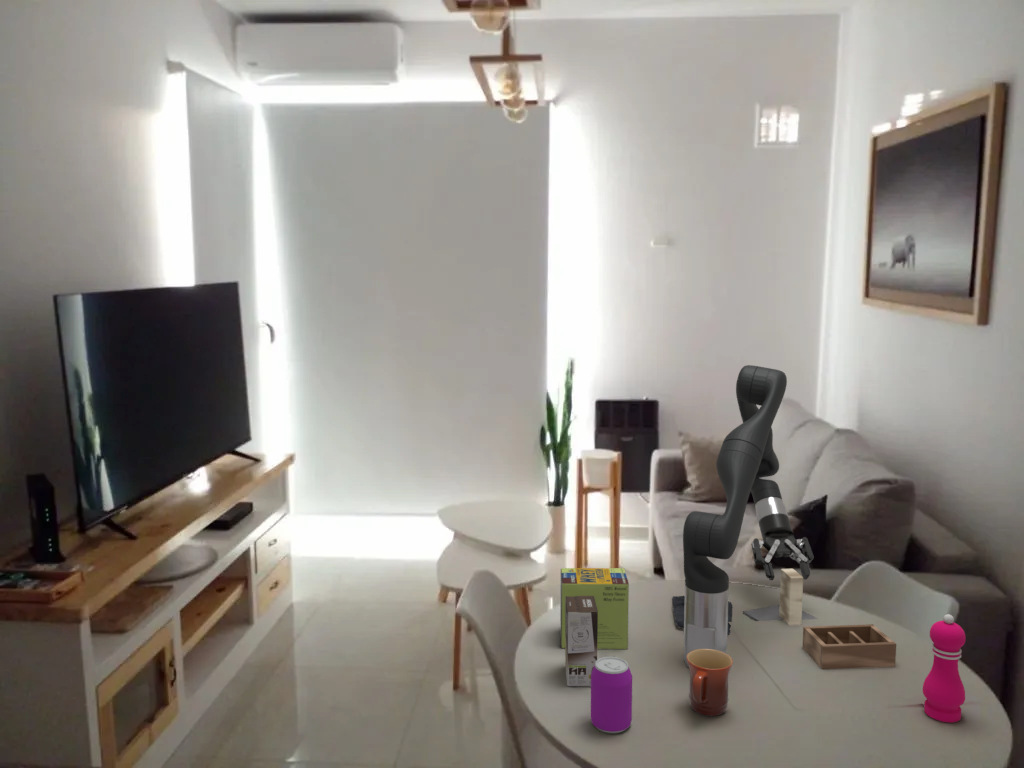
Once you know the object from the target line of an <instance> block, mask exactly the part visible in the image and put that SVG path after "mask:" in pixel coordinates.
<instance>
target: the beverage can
mask: <svg viewBox="0 0 1024 768" xmlns="http://www.w3.org/2000/svg"><path fill="white" fill-rule="evenodd" d="M632 717H633V675H632V671H631V669H630V666H629V663H628V662H627V661H626V660H625V659H623V658H621V657H616V656H603V657H600V658H597V661H596V662H595V665H594V668H593V670H592V673H591V686H590V722H591V724H592V725H593V726H594V727H595V728H596V729H597V730H598V731H601V732H603V733H605V734H619V733H622V732H624V731H626V730H627V729H629V727H631V724H632V719H633V718H632Z"/></svg>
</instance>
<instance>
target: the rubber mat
mask: <svg viewBox="0 0 1024 768" xmlns="http://www.w3.org/2000/svg"><path fill="white" fill-rule="evenodd" d="M779 608H780V603H779V604H775V605H774V604H773V605H769V606H764V607H759V608H758V607H757V608H752V609H748V610H743V611H742V614H743V615H745V616H746V617H748V618H749V619H751V620H753V621H755V622H765V621H766V622H767V621H768V622H770V621H771V622H772V621H784V620H783V619H782V618H781V617H780V616H779ZM802 620H803V621H804V620H819V618H817V617H815V616H813V615H812V614H810V613H808V612H806V611H805V610H802V619H801V621H802Z"/></svg>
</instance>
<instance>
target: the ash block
mask: <svg viewBox="0 0 1024 768" xmlns="http://www.w3.org/2000/svg"><path fill="white" fill-rule="evenodd" d="M779 588H780V589H779V590H780V591H779V604H780V608H779V616H780V617H781V618H782V619H783V620H782V621H784V622H785V623H786V624H787V625H788V626H802V620H801V619H802V611H803V594H804V593H803V589H804V579H803V576H802V574H800V573H799V572H798V571H796V570H795V569H794V568H780V584H779Z"/></svg>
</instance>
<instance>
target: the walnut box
mask: <svg viewBox="0 0 1024 768" xmlns="http://www.w3.org/2000/svg"><path fill="white" fill-rule="evenodd" d="M802 630H803V631H802V646H801V647H802V649H803V650H804V652H805V653H806V654H807V655H808V656H809V657H810V658H811V659H812V660H813V661H814V662H815V664H816V665H818V667H820V669H821V670H833V669H834V670H835V669H836V670H837V669H838V670H839V669H859V668H860V669H861V668H863V669H866V668H887V667H888V668H891V667H893V668H894V667H896V661H897V660H896V658H897V657H896V656H897V643H896V642H894V640H893V639H891V638H890V637H889V636H887V635H886V634H885V633H883V632H882V631H881V630H880V629H879V628H878V627H877V626H875V625H874V624H872V623H871V624H867V623H866V624H846V625H845V624H844V625H838V624H837V625H811V626H810V625H807V626H803V627H802Z"/></svg>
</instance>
